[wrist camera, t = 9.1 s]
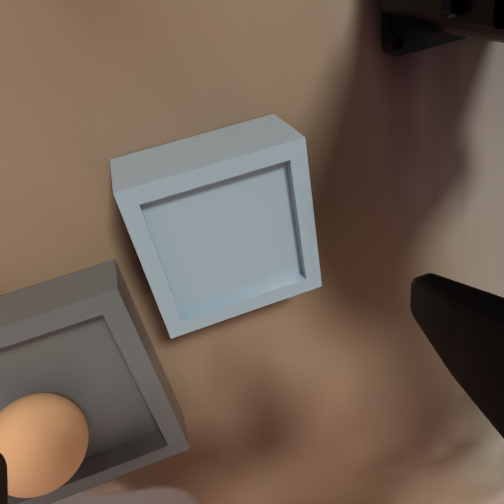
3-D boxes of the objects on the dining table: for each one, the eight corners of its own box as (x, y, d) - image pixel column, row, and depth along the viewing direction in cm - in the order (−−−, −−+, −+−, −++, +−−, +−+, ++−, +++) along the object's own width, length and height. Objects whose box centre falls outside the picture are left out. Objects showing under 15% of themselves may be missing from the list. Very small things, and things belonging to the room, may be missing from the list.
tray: (115, 259, 20) (117, 289, 19) (183, 415, 27) (190, 449, 25) (-165, 347, 19) (-195, 390, 17) (-18, 491, 25) (-28, 533, 24)
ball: (66, 360, 21) (65, 435, 18) (99, 415, 24) (105, 491, 20) (-30, 395, 20) (-51, 482, 17) (15, 448, 23) (6, 534, 19)
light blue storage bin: (273, 113, 19) (305, 137, 16) (293, 248, 23) (322, 286, 20) (109, 159, 18) (112, 193, 15) (160, 292, 22) (170, 338, 19)
